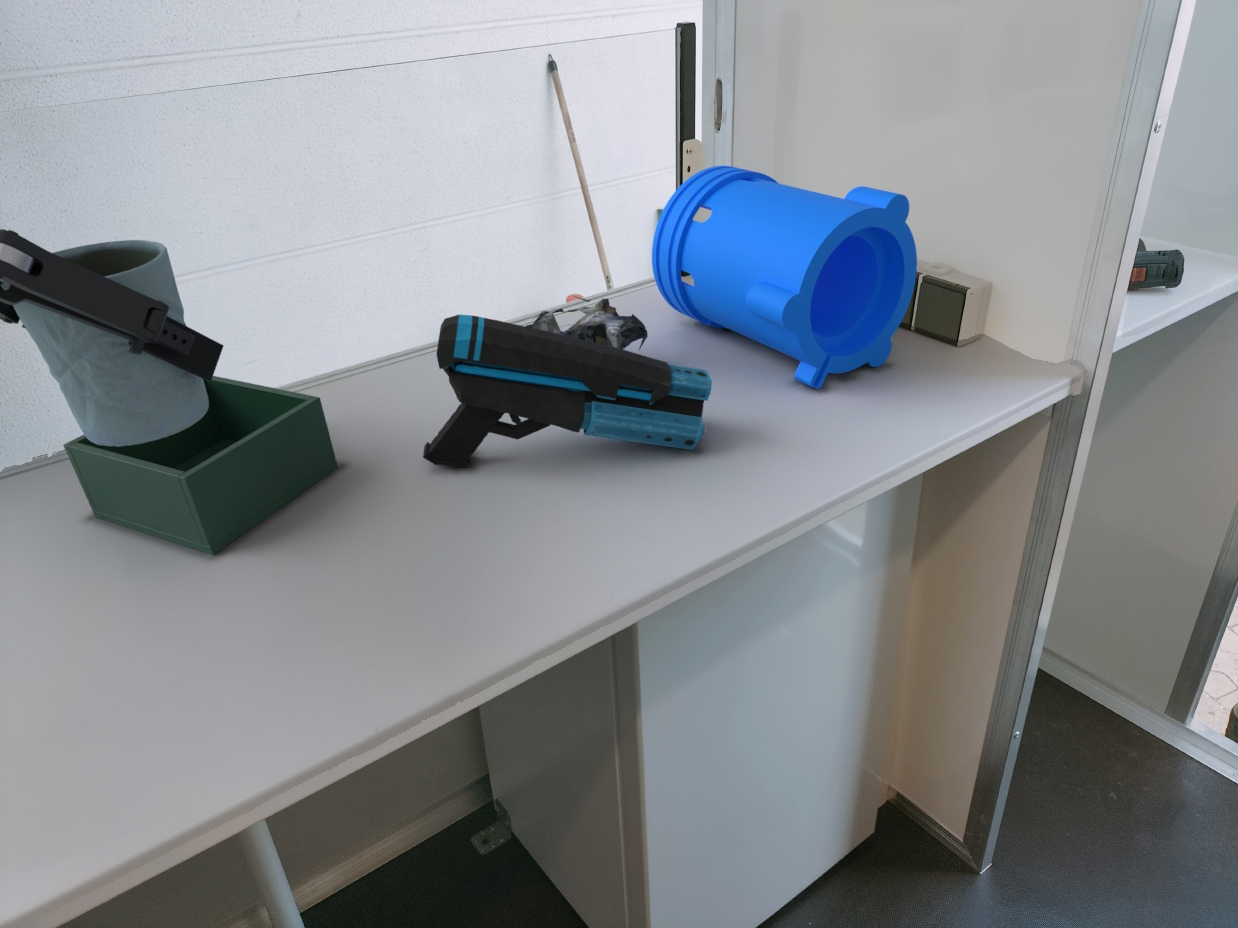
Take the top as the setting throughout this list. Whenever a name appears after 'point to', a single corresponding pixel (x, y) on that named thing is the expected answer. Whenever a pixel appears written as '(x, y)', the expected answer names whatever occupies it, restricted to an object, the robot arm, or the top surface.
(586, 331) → the foil
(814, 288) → the tube
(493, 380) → the gun
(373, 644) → the top surface
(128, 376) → the grey-blue textured cup
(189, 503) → the open box
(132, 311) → the robot arm
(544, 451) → the top surface
